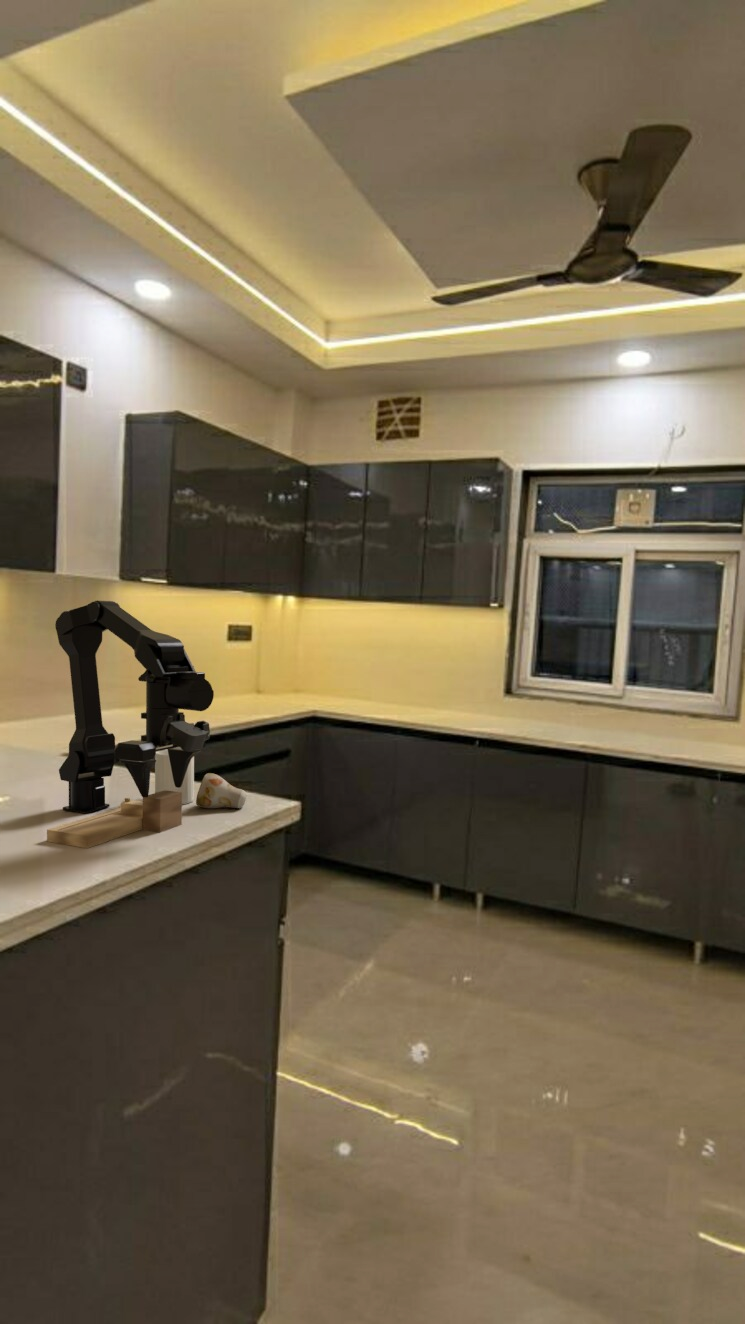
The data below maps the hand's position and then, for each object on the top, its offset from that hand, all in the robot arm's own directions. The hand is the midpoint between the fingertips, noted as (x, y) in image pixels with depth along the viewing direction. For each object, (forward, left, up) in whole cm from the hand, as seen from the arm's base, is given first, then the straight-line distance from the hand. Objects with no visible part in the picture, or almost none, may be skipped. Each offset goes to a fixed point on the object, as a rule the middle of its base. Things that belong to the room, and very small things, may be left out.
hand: (162, 792), depth 137 cm
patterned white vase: (+1, +17, -7) cm, 19 cm away
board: (-7, -5, -6) cm, 11 cm away
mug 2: (-12, +19, -7) cm, 24 cm away
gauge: (-3, 0, -6) cm, 7 cm away
